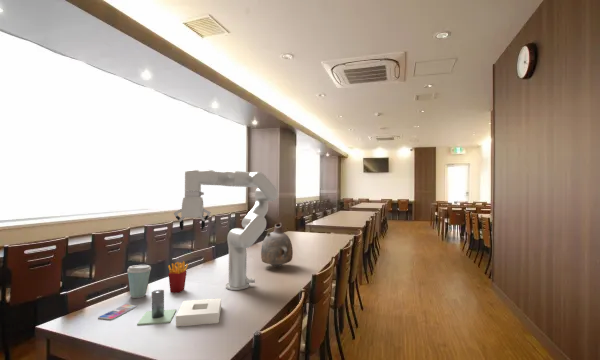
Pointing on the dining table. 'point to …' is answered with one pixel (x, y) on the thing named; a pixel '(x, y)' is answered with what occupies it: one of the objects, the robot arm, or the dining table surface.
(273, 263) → the jug
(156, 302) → the peg
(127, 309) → the smartphone
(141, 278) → the disposable coffee cup
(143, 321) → the pad
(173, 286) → the french fries
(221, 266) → the dining table surface
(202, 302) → the pocket block
